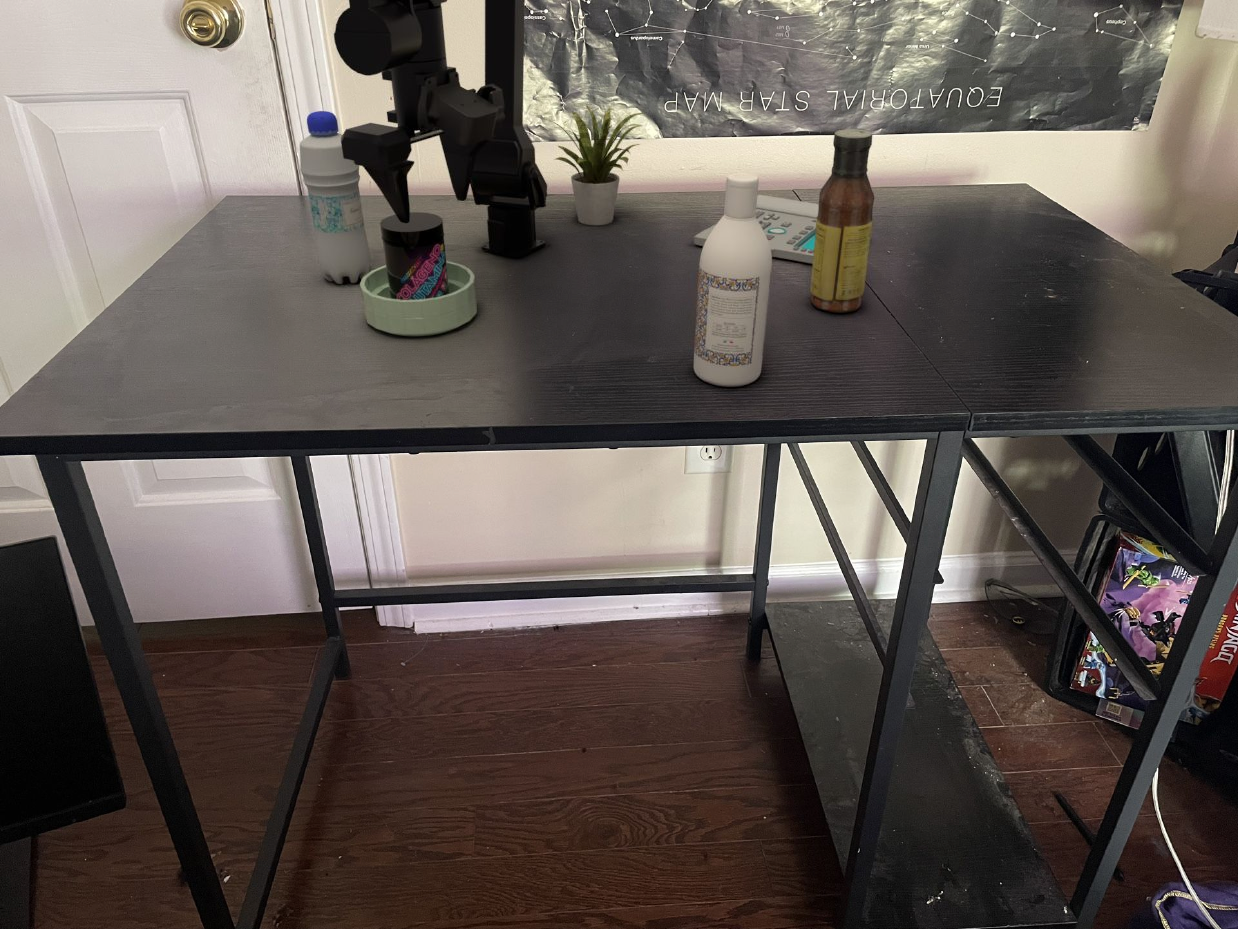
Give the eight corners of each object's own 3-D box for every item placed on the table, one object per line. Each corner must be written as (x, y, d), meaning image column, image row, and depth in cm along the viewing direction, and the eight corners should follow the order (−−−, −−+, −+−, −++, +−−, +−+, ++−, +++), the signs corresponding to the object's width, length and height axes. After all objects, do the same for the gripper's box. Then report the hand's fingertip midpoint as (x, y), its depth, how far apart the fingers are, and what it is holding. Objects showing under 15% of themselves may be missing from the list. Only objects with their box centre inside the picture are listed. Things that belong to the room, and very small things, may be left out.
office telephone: (759, 187, 140) (886, 207, 132) (757, 204, 142) (883, 225, 133) (694, 226, 123) (835, 252, 115) (693, 245, 125) (832, 272, 116)
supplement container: (384, 321, 101) (371, 230, 96) (401, 298, 107) (389, 211, 101) (443, 323, 101) (434, 232, 95) (457, 300, 107) (449, 213, 101)
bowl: (418, 287, 111) (414, 252, 109) (499, 309, 106) (496, 273, 103) (342, 323, 102) (336, 285, 100) (426, 349, 97) (422, 310, 94)
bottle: (361, 289, 111) (334, 119, 100) (310, 285, 112) (278, 115, 101) (383, 270, 116) (360, 106, 105) (335, 266, 117) (307, 103, 106)
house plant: (669, 216, 136) (674, 101, 127) (620, 242, 126) (621, 119, 117) (590, 200, 142) (589, 90, 133) (538, 223, 132) (533, 106, 123)
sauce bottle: (864, 298, 110) (892, 128, 99) (858, 318, 105) (887, 141, 94) (810, 291, 111) (831, 123, 100) (801, 310, 106) (823, 136, 96)
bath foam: (718, 352, 97) (732, 162, 86) (773, 371, 93) (795, 175, 82) (679, 374, 92) (689, 177, 81) (735, 396, 89) (754, 192, 78)
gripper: (413, 81, 80) (432, 250, 89) (537, 52, 94) (543, 201, 102) (325, 68, 85) (351, 229, 94) (455, 42, 99) (467, 185, 107)
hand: (434, 211), depth 99 cm, fingers open, 9 cm apart
